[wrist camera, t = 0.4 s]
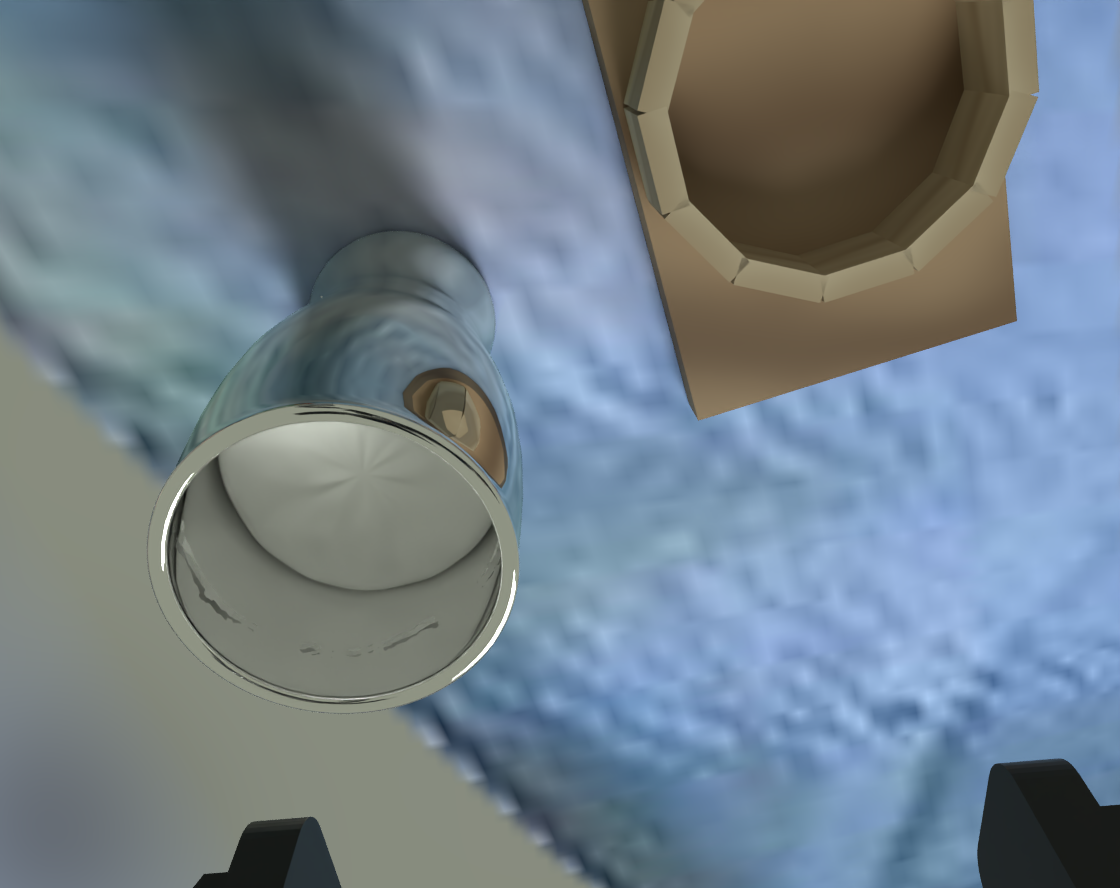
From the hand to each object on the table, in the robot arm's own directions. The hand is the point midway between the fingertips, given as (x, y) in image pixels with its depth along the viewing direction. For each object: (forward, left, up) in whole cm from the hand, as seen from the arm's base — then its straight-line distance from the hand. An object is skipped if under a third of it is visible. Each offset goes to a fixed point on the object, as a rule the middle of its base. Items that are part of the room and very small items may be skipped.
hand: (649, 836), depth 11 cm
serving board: (-8, +6, -21) cm, 24 cm away
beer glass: (+1, -5, -21) cm, 22 cm away
